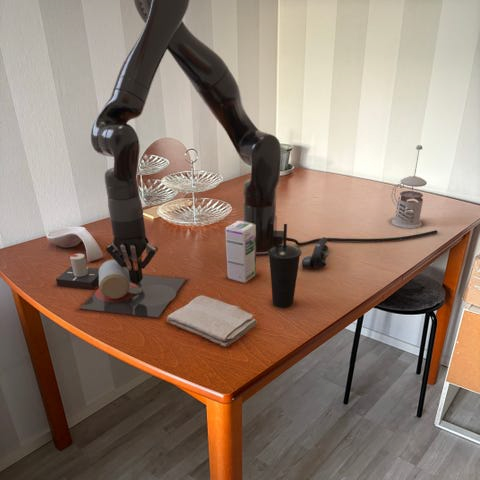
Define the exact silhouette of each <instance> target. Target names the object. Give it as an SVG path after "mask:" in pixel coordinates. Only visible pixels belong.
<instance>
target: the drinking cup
mask: <svg viewBox="0 0 480 480" xmlns="http://www.w3.org/2000/svg"><path fill="white" fill-rule="evenodd" d="M283 231H284V238H283V244H280V245H276V246H273V247H271V248H269V249H268V254H267V255H268V259H269V261H268V262H269V272H270V284H271V295H272V298H271V299H272V305H273V306H274V307H276V308H279V309H288V308H290V307H291V308H292V306H293V305H294V299H295V291H296V285H297V278H298V272H299V271H298V270H299V265H300V260H301V259H300V258H301V256H302V250H301V248H299V246H296V245H292V244H288V243H287V241H286V239H287V238H288V237H287V236H288V235H287V234H288V224H287V223H284V224H283Z"/></svg>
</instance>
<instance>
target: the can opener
mask: <svg viewBox="0 0 480 480" xmlns="http://www.w3.org/2000/svg"><path fill="white" fill-rule="evenodd" d="M327 238H328V237H324V236H323V237H321V239H320V240H319V241H318V242H316V244H315V247H314V249H313V252H312V255H308V256H304V257H303V258H302V261H301V267H302V268H304V269H312V268H313V267H314V268H315V269H322V268H325V267H326V266H327V263H326V262H327V261H326V259H327V258H328V257H329V246H328V245H327V243H328V241H327V240H328V239H327Z"/></svg>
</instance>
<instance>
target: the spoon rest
mask: <svg viewBox="0 0 480 480" xmlns="http://www.w3.org/2000/svg"><path fill="white" fill-rule="evenodd" d="M45 237H46V239H47V240H48V241H49V242H50V243H52V244H54V245H56V246H58V247H60V248H65V249H67V248H72V247H77V246H78V245H79V244H80V243H81V242H82V243H83V245H84V248H85V252H86V258H87V260H86V261H87V262H89V263H90V262H93V261H96V260H99V259H102V258H103V257H104V255H103V252H102V249H101V248H100V246H99V244H98V242H97V241H96V239H95V238H94V237H93V236H92V234H91V233H90V232H89V231H88V230H87V228H86V227H84V226H78V225H74V226H73V225H72V226H70V225H69V226H63V227H61V228H57V229H53V230H51V231H49V232H47V234H46V235H45Z"/></svg>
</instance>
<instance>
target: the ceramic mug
mask: <svg viewBox="0 0 480 480" xmlns="http://www.w3.org/2000/svg"><path fill="white" fill-rule="evenodd" d="M98 269H99V283H98V288H100V291H101V292H102V294H103V295H104V296H105V297H107V298H110V299H119V298H122V297H124V296H125V295H126V294H127V292H129V293H132V294H139V293H141V292H142V290H143V287H144V285H143V283H142V282H140V283H139V284H135V283H133V284H135V285H137V286H139V288H140V289H136V288H131V287H129V286H130V282H131V283H132V281H131V280H130V276H129V270H128V269H127V268H126V267H121V266H120V265H119V264H118V263H117V262H116V261H115V260H114V259H109V260H108V259H107V260H106V261H104V262H103V263H101V264H100V267H99V268H98Z"/></svg>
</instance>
